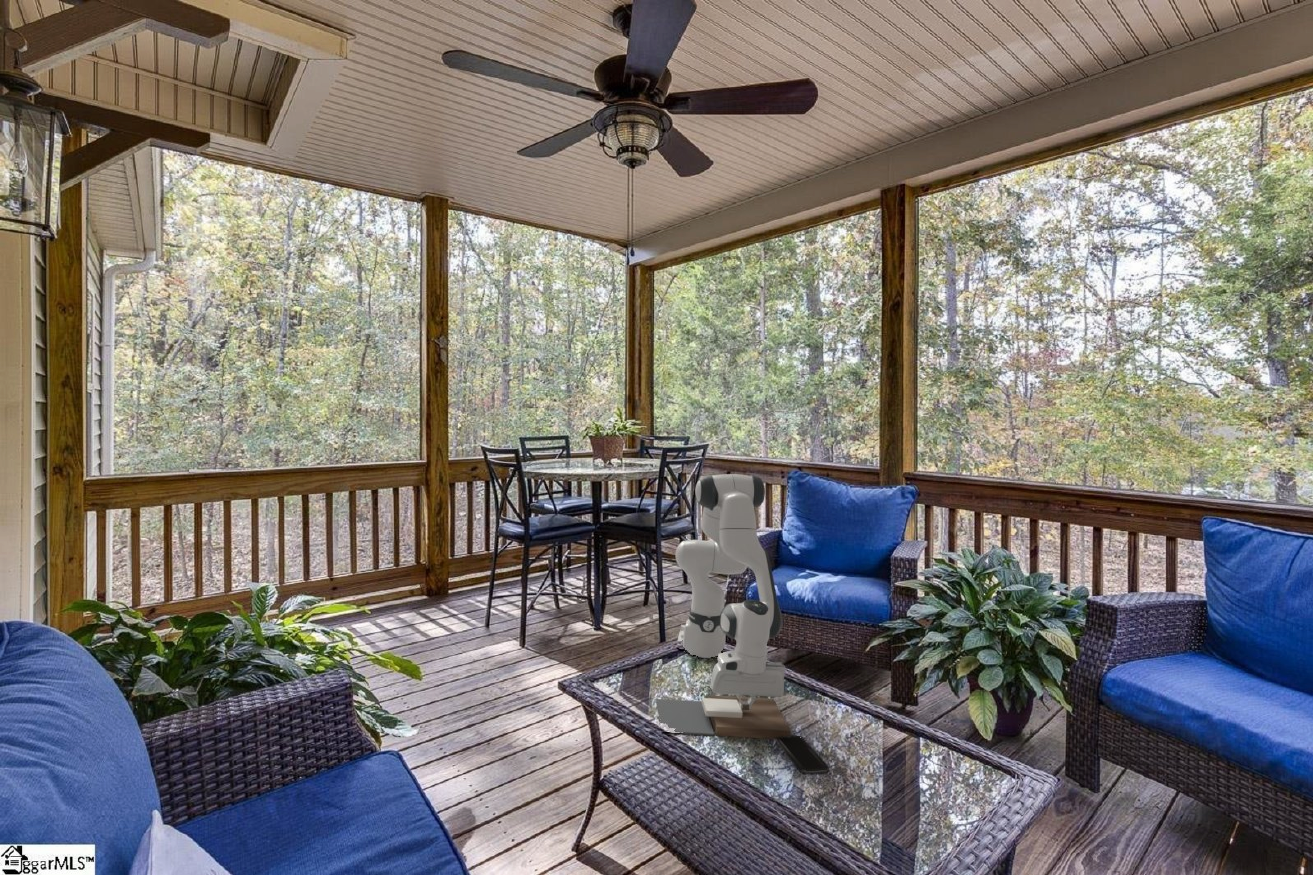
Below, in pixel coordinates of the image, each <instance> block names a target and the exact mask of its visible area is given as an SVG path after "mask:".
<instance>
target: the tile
mask: <svg viewBox="0 0 1313 875" xmlns="http://www.w3.org/2000/svg"><path fill="white" fill-rule="evenodd" d="M701 701H702V706H703V709H704V712H705V715H706V716H709V717H710V716H713V717H733V718H742V713H743V712H742V710H741V708H740V706H739V703H738V701H737V700H731V699H712V698H706V697H702V699H701Z"/></svg>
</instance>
